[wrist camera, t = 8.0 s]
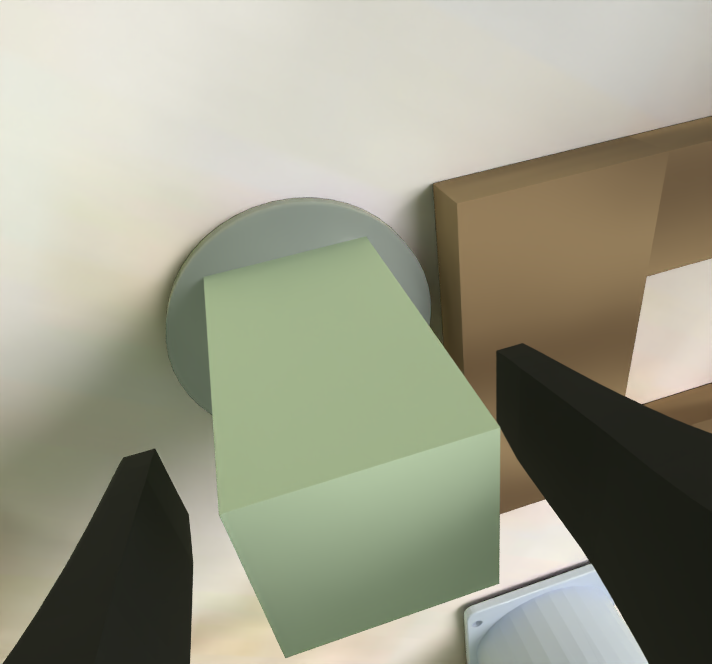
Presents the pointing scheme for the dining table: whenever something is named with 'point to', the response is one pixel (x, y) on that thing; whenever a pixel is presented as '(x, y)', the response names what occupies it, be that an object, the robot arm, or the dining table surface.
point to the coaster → (264, 243)
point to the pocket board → (571, 262)
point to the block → (345, 446)
